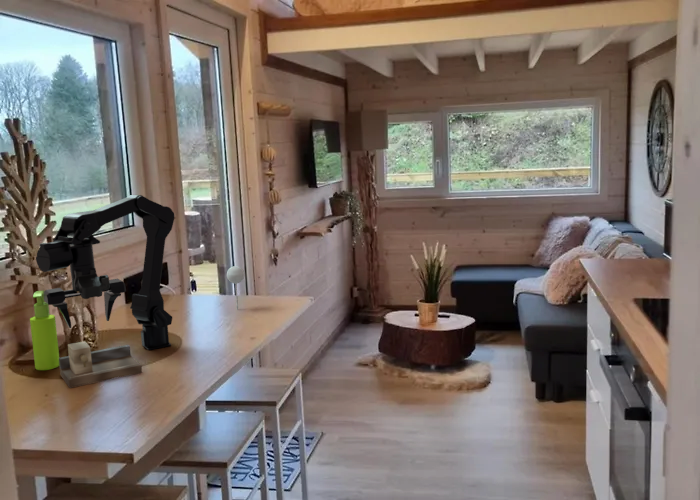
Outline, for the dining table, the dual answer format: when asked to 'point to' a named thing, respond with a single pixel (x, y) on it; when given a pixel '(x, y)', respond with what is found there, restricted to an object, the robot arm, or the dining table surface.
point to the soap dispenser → (44, 335)
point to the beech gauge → (80, 357)
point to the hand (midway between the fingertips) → (89, 324)
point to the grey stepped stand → (102, 366)
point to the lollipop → (235, 277)
